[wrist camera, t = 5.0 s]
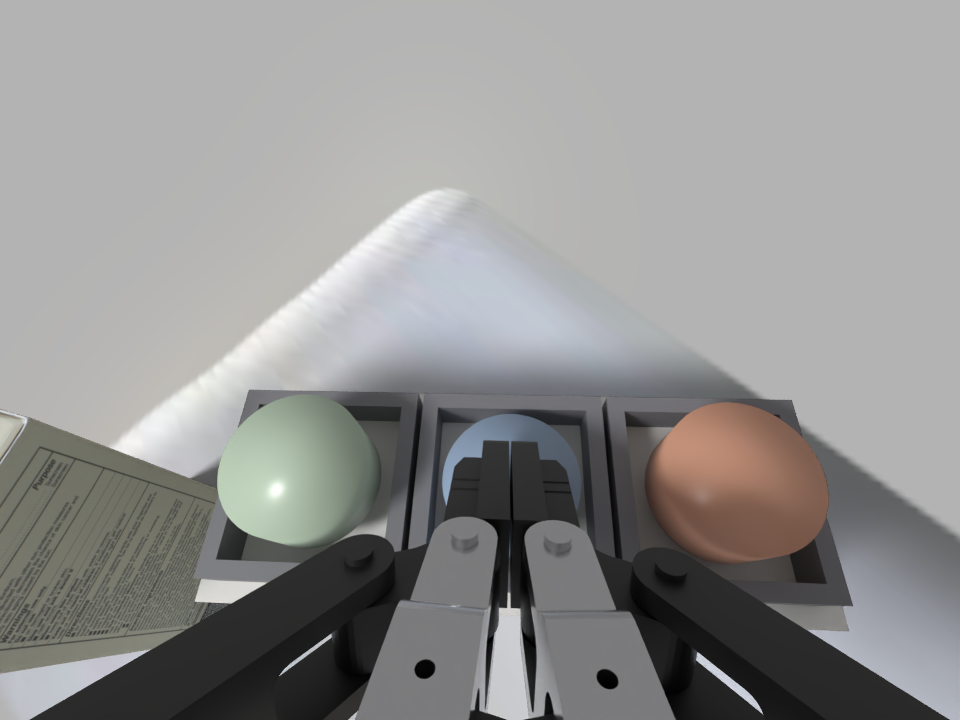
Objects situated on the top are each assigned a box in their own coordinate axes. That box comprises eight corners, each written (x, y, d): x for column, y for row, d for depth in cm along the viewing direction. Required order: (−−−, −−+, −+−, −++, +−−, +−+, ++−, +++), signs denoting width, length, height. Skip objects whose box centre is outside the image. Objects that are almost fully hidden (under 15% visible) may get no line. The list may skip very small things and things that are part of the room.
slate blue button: (568, 436, 16) (577, 415, 14) (575, 562, 14) (585, 556, 12) (453, 433, 16) (447, 412, 14) (445, 557, 14) (436, 550, 13)
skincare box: (180, 481, 23) (-101, 372, 12) (260, 503, 22) (38, 408, 12) (102, 623, 20) (-351, 641, 9) (191, 653, 20) (-187, 710, 9)
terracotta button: (766, 428, 15) (802, 403, 13) (803, 567, 13) (851, 560, 11) (637, 425, 15) (655, 400, 13) (654, 561, 13) (678, 554, 11)
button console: (705, 457, 22) (805, 383, 15) (737, 623, 19) (885, 633, 12) (320, 447, 23) (236, 373, 16) (288, 603, 20) (165, 601, 13)
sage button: (389, 420, 15) (374, 395, 13) (371, 551, 13) (350, 542, 12) (270, 417, 15) (240, 393, 14) (236, 546, 14) (197, 536, 12)
